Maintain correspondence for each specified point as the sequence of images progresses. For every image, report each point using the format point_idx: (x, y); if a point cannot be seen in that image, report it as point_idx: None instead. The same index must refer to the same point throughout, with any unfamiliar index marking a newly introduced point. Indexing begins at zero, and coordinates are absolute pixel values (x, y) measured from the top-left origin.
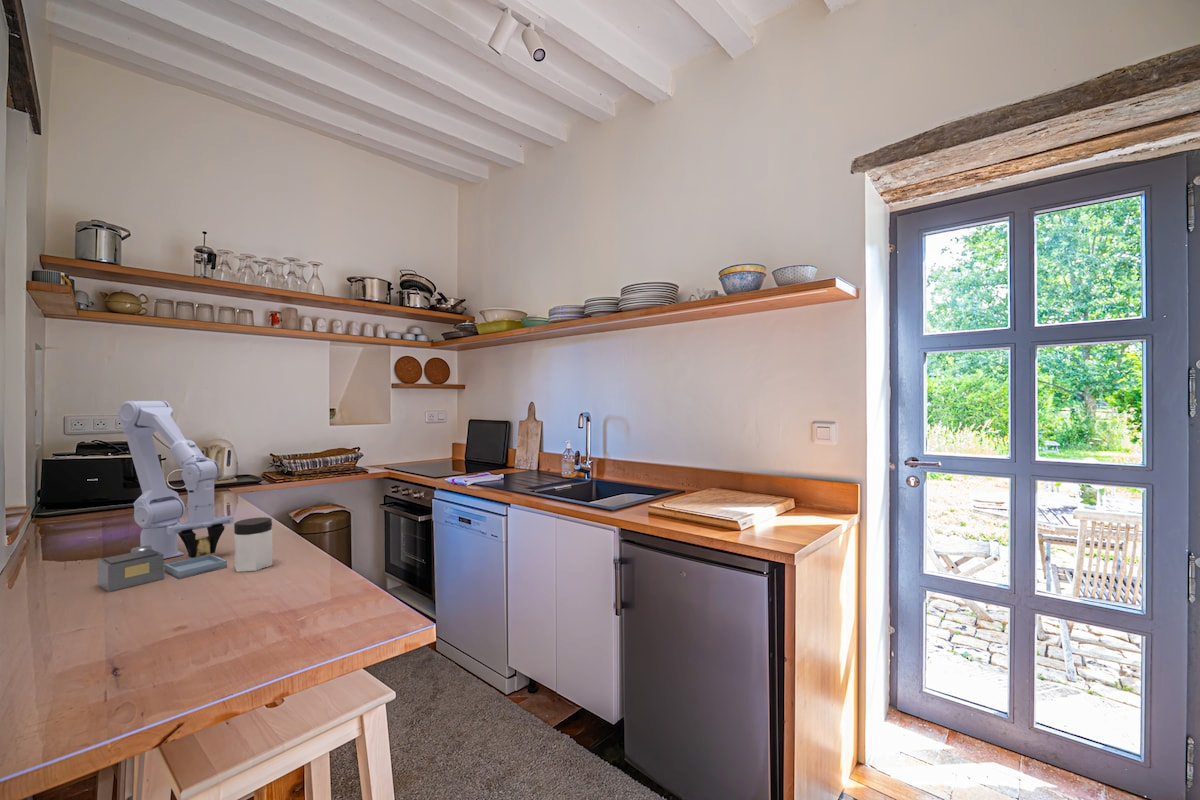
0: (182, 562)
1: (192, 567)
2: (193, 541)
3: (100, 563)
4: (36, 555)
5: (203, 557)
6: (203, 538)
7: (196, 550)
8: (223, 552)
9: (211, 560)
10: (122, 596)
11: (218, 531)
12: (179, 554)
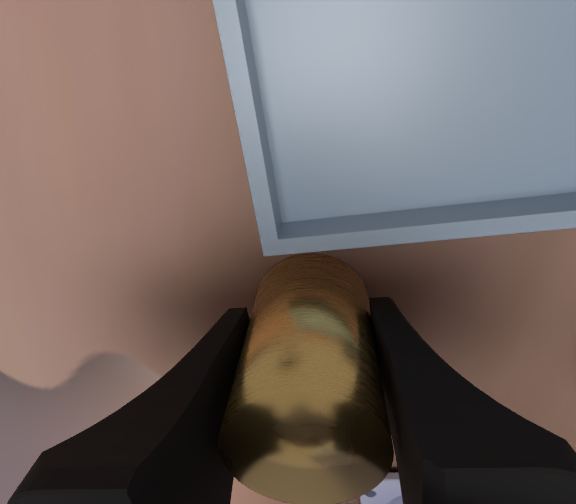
0: (492, 212)
1: (461, 47)
2: (415, 388)
3: None
4: None
5: (325, 229)
6: (294, 428)
7: (362, 329)
8: None
9: (277, 173)
10: None
11: (115, 444)
12: None
